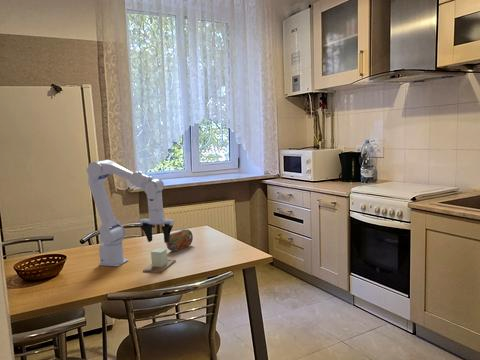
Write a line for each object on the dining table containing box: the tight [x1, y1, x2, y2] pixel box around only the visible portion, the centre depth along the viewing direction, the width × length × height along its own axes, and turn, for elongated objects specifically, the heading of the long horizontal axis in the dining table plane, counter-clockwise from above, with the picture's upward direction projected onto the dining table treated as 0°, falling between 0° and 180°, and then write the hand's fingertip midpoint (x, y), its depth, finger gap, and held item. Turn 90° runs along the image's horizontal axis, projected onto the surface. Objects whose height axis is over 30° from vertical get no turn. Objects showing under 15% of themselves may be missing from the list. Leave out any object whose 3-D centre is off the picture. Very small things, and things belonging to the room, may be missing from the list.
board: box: [142, 258, 176, 274], centre depth 158 cm, size 8×13×2 cm, turn 163°
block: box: [150, 247, 168, 267], centre depth 157 cm, size 5×5×6 cm
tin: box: [165, 229, 194, 252], centre depth 180 cm, size 15×3×8 cm, turn 143°
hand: (158, 241), depth 157 cm, fingers open, 7 cm apart
